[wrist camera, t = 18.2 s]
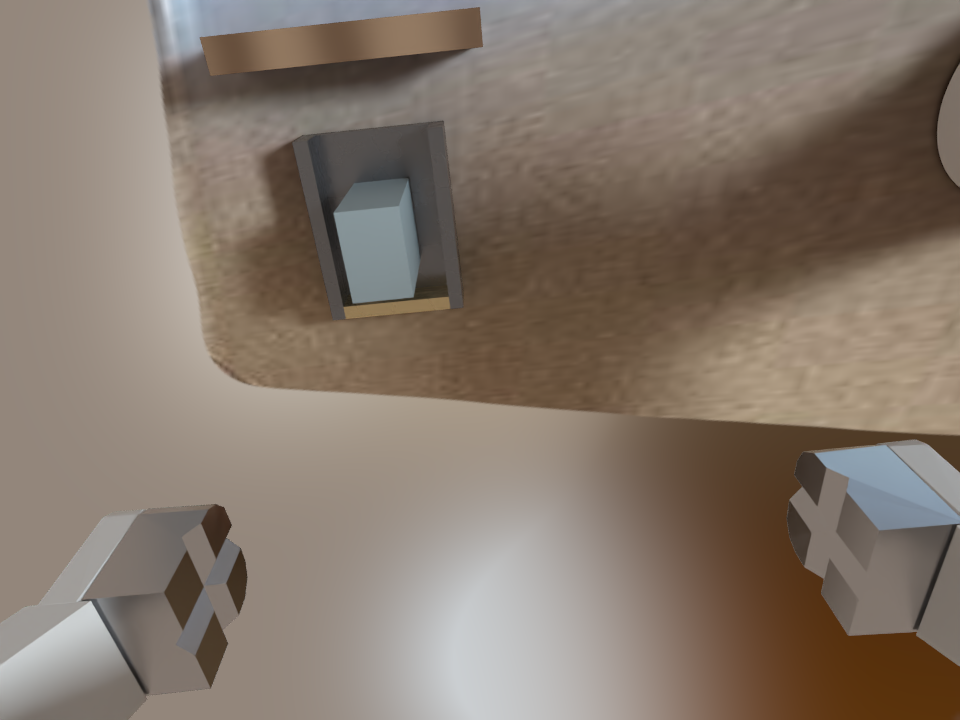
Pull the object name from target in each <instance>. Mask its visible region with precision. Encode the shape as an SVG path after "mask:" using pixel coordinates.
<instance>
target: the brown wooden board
mask: <svg viewBox="0 0 960 720" xmlns="http://www.w3.org/2000/svg"><path fill="white" fill-rule="evenodd" d="M200 40H201V44H202V47H203V51H204V54H205V58H206V62H207V65H208V69H209V72H210V76H214V75H224V74H233V73H243V72H252V71H262V70H271V69H280V68H290V67H299V66H309V65H318V64H327V63H337V62H346V61H356V60H365V59H374V58H384V57H393V56H403V55H412V54H422V53H431V52H440V51H450V50H459V49H469V48H478V47H483V42H482V30H481V18H480V7H478V8H468V9H459V10H450V11H441V12H431V13H422V14H413V15H403V16H394V17H385V18H376V19H366V20H357V21H348V22H338V23H329V24H320V25H311V26H301V27H292V28H283V29H274V30H264V31H255V32H246V33H236V34H227V35H218V36H209V37H200Z"/></svg>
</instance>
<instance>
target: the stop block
mask: <svg viewBox="0 0 960 720" xmlns="http://www.w3.org/2000/svg"><path fill="white" fill-rule="evenodd" d="M334 218H335V222H336V227H337V232H338V236H339V241H340V246H341V250H342V255H343V260H344V264H345V269H346V274H347V278H348V283H349V288H350V292H351V297H352V302H353V303H363V302H373V301H382V300H392V299H402V298H412V297H414V292H415V287H416V281H417V275H418V270H419V264H420V259H421V255H420V248H419V241H418V235H417V228H416V222H415V215H414V208H413V202H412V195H411V188H410V182H409V178H400V179H391V180H381V181H372V182H362V183H354V184H353V185H352V187H351V188H350V190H349V191H348V193H347V194H346V196H345V197H344V198H343V200H342V201H341V203H340V204H339V206H338V207H337V209H336V210H335V211H334Z"/></svg>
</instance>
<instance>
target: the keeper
mask: <svg viewBox="0 0 960 720" xmlns="http://www.w3.org/2000/svg"><path fill="white" fill-rule="evenodd" d="M292 144H293V148H294V153H295V157H296V161H297V166H298V170H299V174H300V179H301V183H302V187H303V192H304V196H305V200H306V205H307V209H308V214H309V218H310V222H311V227H312V231H313V235H314V240H315V244H316V248H317V253H318V257H319V261H320V266H321V270H322V274H323V279H324V283H325V287H326V292H327V296H328V301H329V305H330V309H331V314H332V318H333V320H341V319H351V318H361V317H372V316H382V315H392V314H403V313H413V312H423V311H434V310H444V309H454V308H463V285H462V276H461V268H460V259H459V250H458V242H457V233H456V224H455V215H454V207H453V198H452V189H451V181H450V172H449V163H448V155H447V146H446V137H445V128H444V121H437V122H427V123H418V124H408V125H398V126H389V127H379V128H369V129H360V130H350V131H340V132H331V133H321V134H311V135H302V136H301V137H299V138H298V139H297V140H295V141H294V142H292ZM400 178H409V182H410V188H411V195H412V202H413V208H414V215H415V222H416V228H417V235H418V241H419V248H420V255H421V259H420V264H419V270H418V275H417V281H416V287H415V292H414V297H412V298H402V299H392V300H382V301H373V302H363V303H353V302H352V297H351V292H350V288H349V283H348V278H347V274H346V269H345V264H344V260H343V255H342V250H341V246H340V241H339V236H338V232H337V227H336V222H335V218H334V211H335V210H336V209H337V207H338V206H339V204H340V203H341V201H342V200H343V198H344V197H345V196H346V194H347V193H348V191H349V190H350V188H351V187H352V185H353V184H354V183H362V182H372V181H381V180H391V179H400Z"/></svg>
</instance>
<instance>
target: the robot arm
mask: <svg viewBox="0 0 960 720" xmlns="http://www.w3.org/2000/svg"><path fill="white" fill-rule="evenodd" d="M937 143H938V150H939V155H940V159H941V161H942V164H943V166H944V169H945V170H946V172H947V174H948V175H949V177H950V178H951V179H952V181H953V182H954V183H955V184H956V185H958V186H959V187H960V64H959V65H958V67H957V69H956V71H955V73H954V74H953V76H952V78H951V81H950V83H949V85H948V87H947V90H946V92H945V95H944V98H943V101H942V105H941V108H940V113H939V118H938V127H937ZM794 475H795V477H796V478H797V480H798V481H799V482H800V484H801V485H802V486H803V487H802V488H801V489H800V490H799V491H798V492H797V493H796V494H795V495H794V496H793V497H792V498H791V499H790V500H789V506H788V513H787V524H788V530H789V537H790V540H791V542H792V545H793V547H794V550H795V552H796V554H797V556H798V557H799V559H800V561H801V562H802V564H803V565H804V567H805V568H807V569H809V570H810V571H812V572H814V573H816V574H817V575H819V576H820V577H822V578H824V582H823V587H822V592H821V594H822V595H823V597H824V598H825V600H826V601H827V603H828V604H829V606H830V608H831V609H832V611H833V612H834V614H835V615H836V617H837V619H838V620H839V622H840V623H841V625H842V626H843V628H844V629H845V631H846V632H847V634H848V635H865V634H866V635H867V634H885V633H903V632H917V634H916V635H917V636H918V637H920V638H921V639H923V640H924V641H925V642H927V643H928V644H929V645H931V646H932V647H933V648H935V649H936V650H938V651H939V652H940V653H942V654H943V655H944V656H946V657H947V658H949V659H950V660H952V661H953V662H954V663H956V664H957V665H958V666H960V473H959V472H958V471H957V470H956V469H955V468H954V467H952V466H951V465H950V464H949V463H948V462H947V461H946V460H944V459H943V458H942V457H941V456H940V455H939V454H938V453H937V452H936V451H934V450H933V449H932V448H931V447H930V446H928V445H927V444H925V443H923V442H920V441H918V440H908V441H898V442H889V443H880V444H877V445H869V446H858V447H848V448H837V449H827V450H817V451H806V452H803V453H802V454H801V456H800V457H799V459H798V460H797V464H796V469H795V474H794ZM231 526H232V524H231V522H230V520H229V518H228V515H227V513H226V510H225V508H224V507H222V506H219V505H217V504H211V505H197V506H182V507H167V508H152V509H147V510H132V511H116V512H112V513H110V514H108V515H106V516H104V517H103V518H102V519H101V521H100V522H99V523H98V525H97V526H96V527H95V529H94V530H93V531H92V533H91V534H90V535H89V537H88V538H87V540H86V541H85V542H84V544H83V545H82V546H81V548H80V549H79V551H78V552H77V553H76V554H75V556H74V557H73V558H72V560H71V561H70V563H69V564H68V565H67V566H66V568H65V569H64V571H63V572H62V573H61V575H60V576H59V577H58V579H57V580H56V581H55V583H54V584H53V585H52V587H51V588H50V589H49V591H48V592H47V594H46V595H45V596H44V597H43V599H42V600H41V601H40V603H39V604H38V605H36V606H26V607H24V608H23V609H21V610H20V611H18V612H17V613H15V614H14V615H12V616H11V617H9V618H8V619H6V620H5V621H3V622H2V623H0V720H128V719H129V718H130V717H131V716H132V715H133V714H134V713H135V712H136V711H137V710H138V709H139V707H140V706H141V705H142V704H143V703H144V702H145V701H146V700H147V698H146V696H149V695H158V694H167V693H176V692H185V691H193V690H202V689H211V687H212V684H213V682H214V679H215V676H216V674H217V671H218V668H219V666H220V663H221V661H222V658H223V655H224V653H225V650H226V648H227V645H228V642H227V640H226V637H225V635H224V632H223V629H224V628H225V627H226V626H228V625H229V624H230V623H231V622H232V621H233V620H234V619H235V618H236V617H237V616H238V615H239V614H240V611H241V608H242V605H243V602H244V600H245V594H246V586H247V570H246V562H245V559H244V556H243V554H242V550H241V548H240V547H238V546H237V545H236V544H234V543H233V542H231V541H230V540H229V539H227V538H226V537H227V535H228V533H229V530H230V528H231Z"/></svg>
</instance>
